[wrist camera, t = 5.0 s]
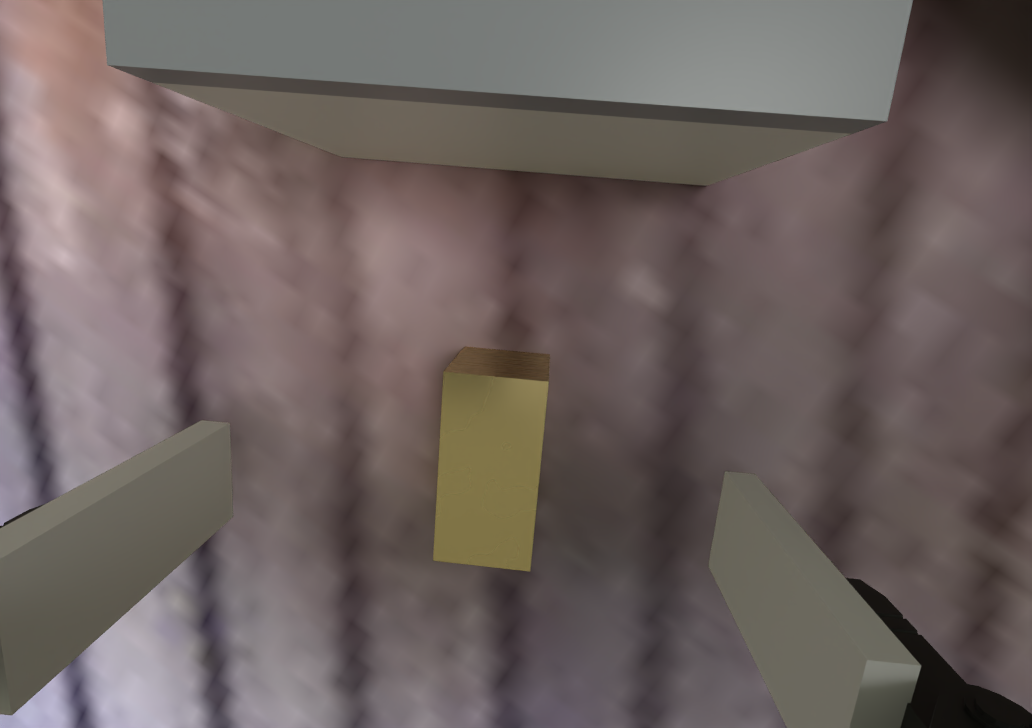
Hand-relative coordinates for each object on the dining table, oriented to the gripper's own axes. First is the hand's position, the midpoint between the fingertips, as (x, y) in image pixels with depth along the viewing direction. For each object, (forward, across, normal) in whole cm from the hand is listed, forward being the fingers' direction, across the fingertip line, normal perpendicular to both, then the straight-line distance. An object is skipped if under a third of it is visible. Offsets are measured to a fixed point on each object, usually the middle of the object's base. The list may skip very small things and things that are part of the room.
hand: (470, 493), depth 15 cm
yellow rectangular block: (+6, 0, 0) cm, 6 cm away
